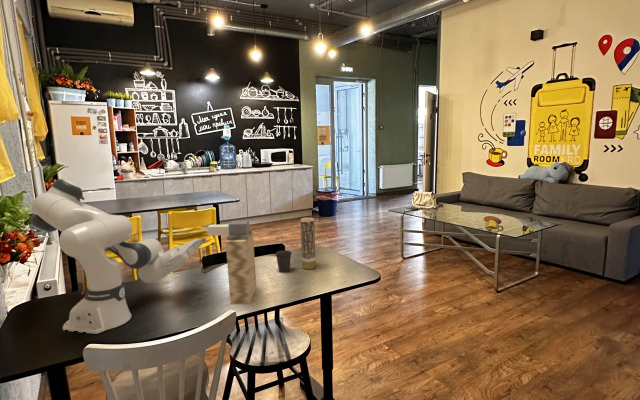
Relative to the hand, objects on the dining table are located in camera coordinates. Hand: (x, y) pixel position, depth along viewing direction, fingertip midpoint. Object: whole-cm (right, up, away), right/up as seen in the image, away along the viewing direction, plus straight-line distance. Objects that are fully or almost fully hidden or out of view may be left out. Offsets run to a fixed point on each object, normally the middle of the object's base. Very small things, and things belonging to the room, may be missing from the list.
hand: (202, 242), depth 158 cm
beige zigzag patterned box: (+17, -23, +4) cm, 29 cm away
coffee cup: (+31, -18, +31) cm, 47 cm away
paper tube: (+43, -17, +35) cm, 58 cm away
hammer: (+12, +2, -1) cm, 12 cm away
